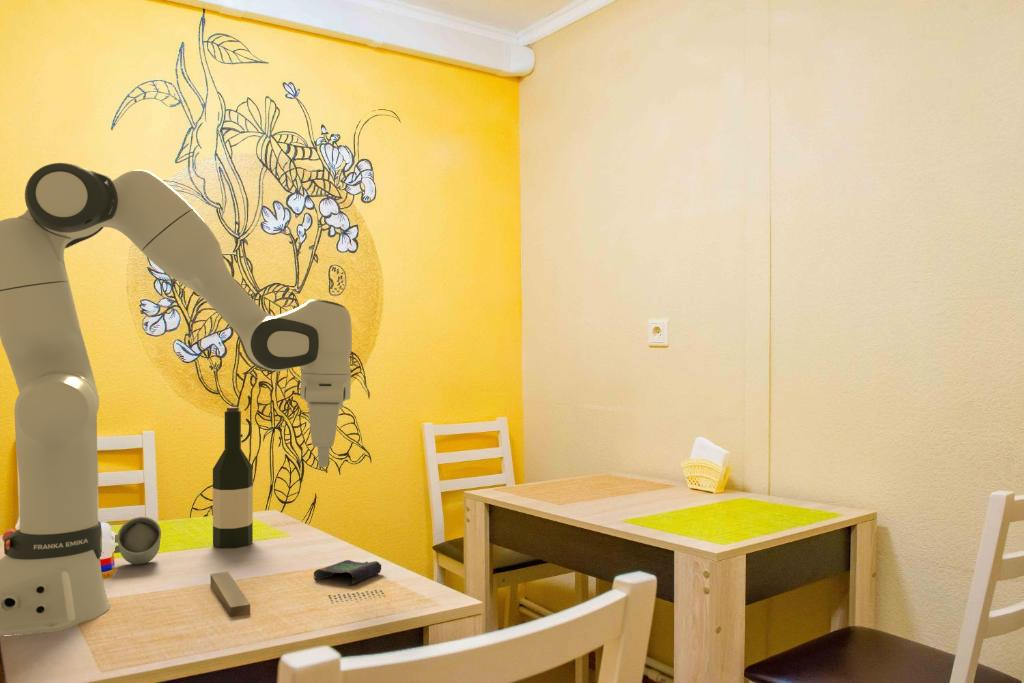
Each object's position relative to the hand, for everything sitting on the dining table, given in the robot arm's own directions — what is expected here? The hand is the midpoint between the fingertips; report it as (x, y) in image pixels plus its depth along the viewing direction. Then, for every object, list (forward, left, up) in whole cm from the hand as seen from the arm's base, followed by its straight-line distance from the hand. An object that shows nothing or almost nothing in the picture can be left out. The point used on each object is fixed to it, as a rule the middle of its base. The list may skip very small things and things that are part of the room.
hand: (323, 465), depth 144 cm
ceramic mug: (-30, +32, -23) cm, 49 cm away
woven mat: (+2, -14, -23) cm, 27 cm away
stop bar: (-17, -1, -22) cm, 28 cm away
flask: (+2, -2, -23) cm, 23 cm away
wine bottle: (-9, +41, -23) cm, 47 cm away
